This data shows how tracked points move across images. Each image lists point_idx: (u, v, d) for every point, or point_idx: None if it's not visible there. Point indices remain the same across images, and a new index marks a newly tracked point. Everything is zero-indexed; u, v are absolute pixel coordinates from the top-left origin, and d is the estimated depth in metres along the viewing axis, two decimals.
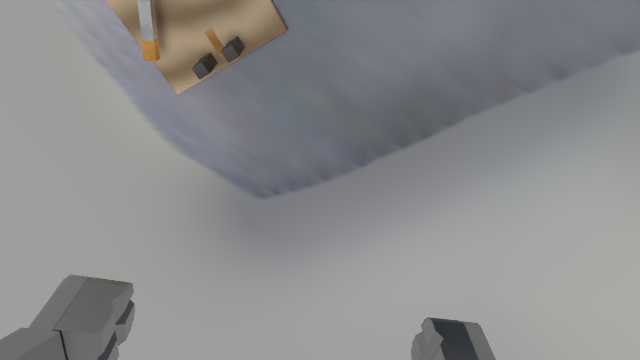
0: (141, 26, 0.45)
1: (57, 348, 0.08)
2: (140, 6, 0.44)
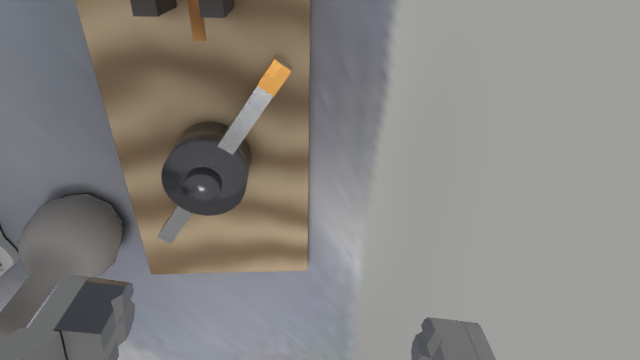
0: (261, 110, 0.30)
1: (57, 348, 0.08)
2: (245, 130, 0.31)
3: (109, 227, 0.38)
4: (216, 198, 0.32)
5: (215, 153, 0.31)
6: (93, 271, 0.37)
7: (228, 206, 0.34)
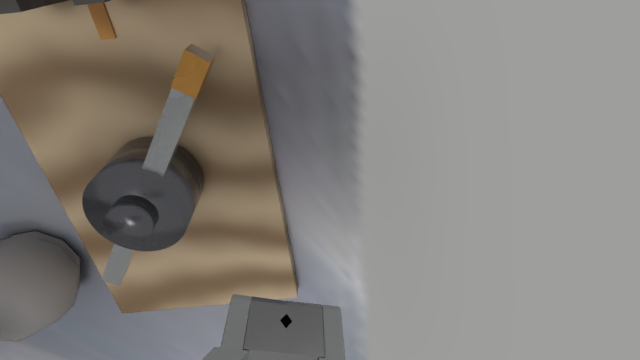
0: (184, 118, 0.23)
1: None
2: (171, 146, 0.24)
3: (56, 269, 0.33)
4: (148, 232, 0.25)
5: (140, 177, 0.25)
6: (40, 321, 0.32)
7: (172, 238, 0.28)
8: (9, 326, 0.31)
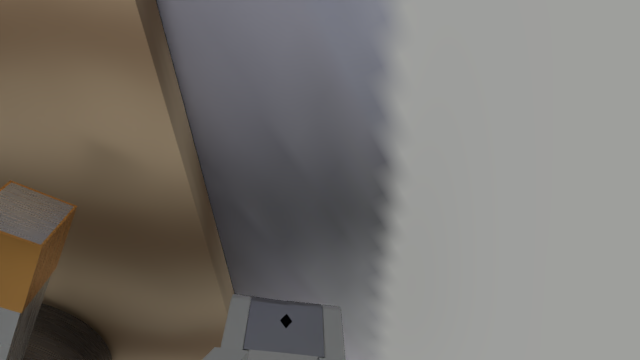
0: (4, 344, 0.10)
1: None
2: None
3: None
4: None
5: None
6: None
7: None
8: None
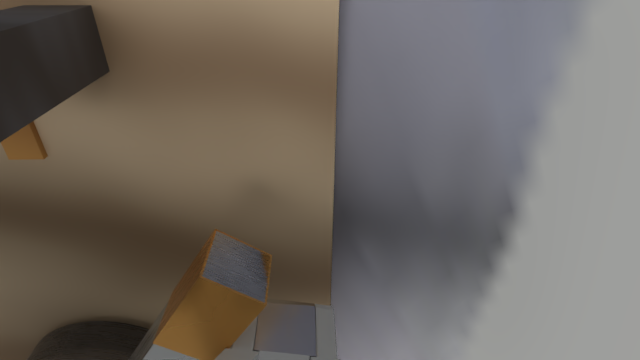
0: None
1: None
2: None
3: None
4: None
5: None
6: None
7: None
8: None
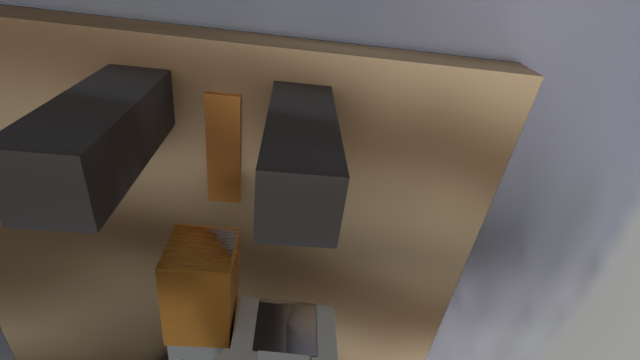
0: None
1: None
2: None
3: None
4: None
5: None
6: None
7: None
8: None
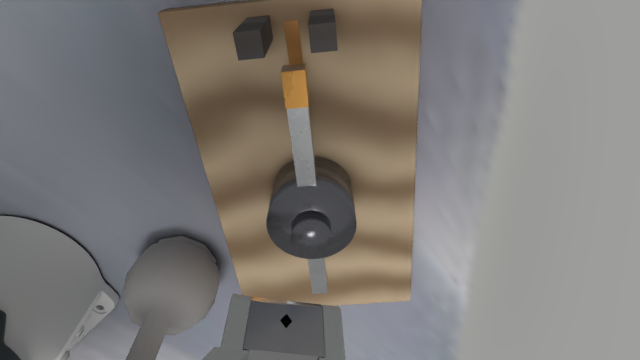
0: (308, 128, 0.26)
1: None
2: (310, 156, 0.27)
3: (208, 271, 0.37)
4: (328, 236, 0.28)
5: (300, 194, 0.28)
6: (197, 318, 0.36)
7: (349, 233, 0.30)
8: (174, 322, 0.35)
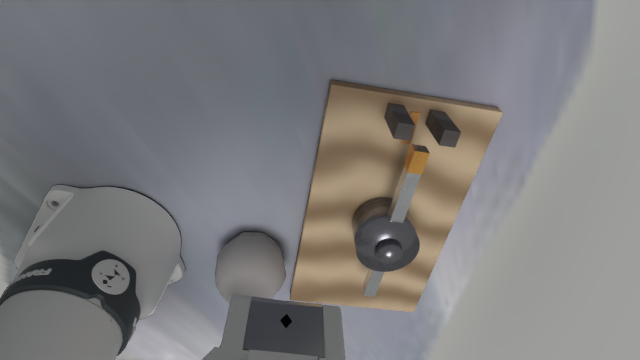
0: (415, 187, 0.38)
1: None
2: (407, 204, 0.39)
3: (283, 264, 0.47)
4: (403, 258, 0.41)
5: (390, 227, 0.41)
6: None
7: (410, 258, 0.43)
8: None
